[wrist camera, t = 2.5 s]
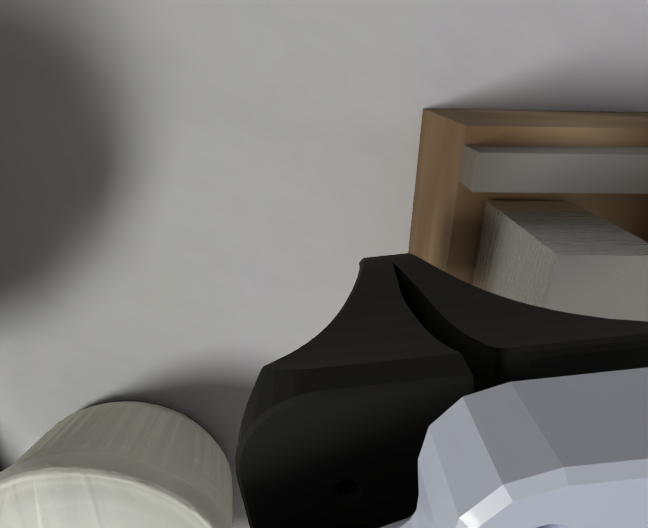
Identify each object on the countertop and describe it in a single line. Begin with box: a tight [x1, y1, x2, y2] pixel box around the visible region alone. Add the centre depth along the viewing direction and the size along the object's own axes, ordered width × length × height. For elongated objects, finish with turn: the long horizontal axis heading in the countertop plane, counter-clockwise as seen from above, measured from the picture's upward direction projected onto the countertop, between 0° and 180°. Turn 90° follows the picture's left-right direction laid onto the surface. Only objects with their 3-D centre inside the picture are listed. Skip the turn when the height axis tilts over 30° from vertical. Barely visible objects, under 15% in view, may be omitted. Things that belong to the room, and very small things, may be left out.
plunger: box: [472, 200, 648, 321], centre depth 12 cm, size 2×4×4 cm, turn 179°
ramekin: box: [0, 401, 233, 528], centre depth 21 cm, size 11×11×5 cm
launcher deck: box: [408, 109, 648, 285], centre depth 16 cm, size 14×8×6 cm, turn 89°
